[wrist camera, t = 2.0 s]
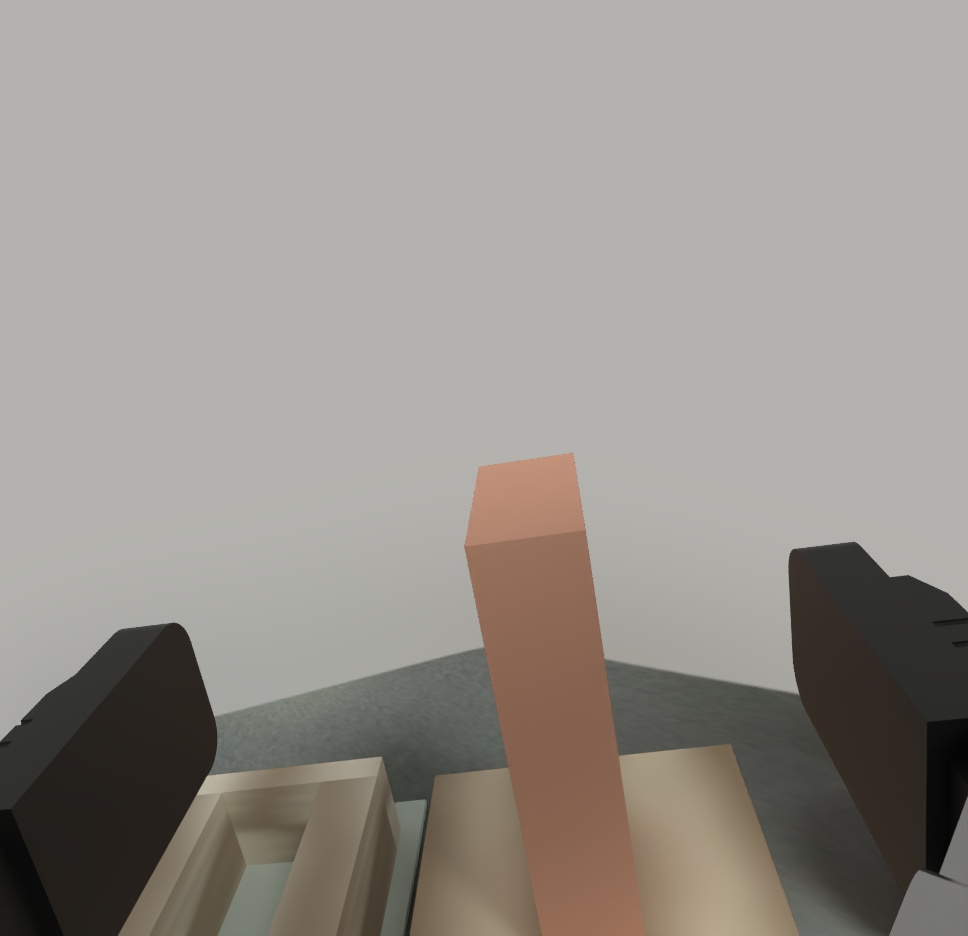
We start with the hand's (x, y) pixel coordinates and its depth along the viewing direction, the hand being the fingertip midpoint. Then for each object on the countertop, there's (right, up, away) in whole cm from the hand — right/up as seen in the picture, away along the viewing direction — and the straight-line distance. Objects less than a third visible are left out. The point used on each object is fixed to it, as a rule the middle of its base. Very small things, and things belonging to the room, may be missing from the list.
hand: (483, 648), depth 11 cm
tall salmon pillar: (+4, -11, +16) cm, 20 cm away
